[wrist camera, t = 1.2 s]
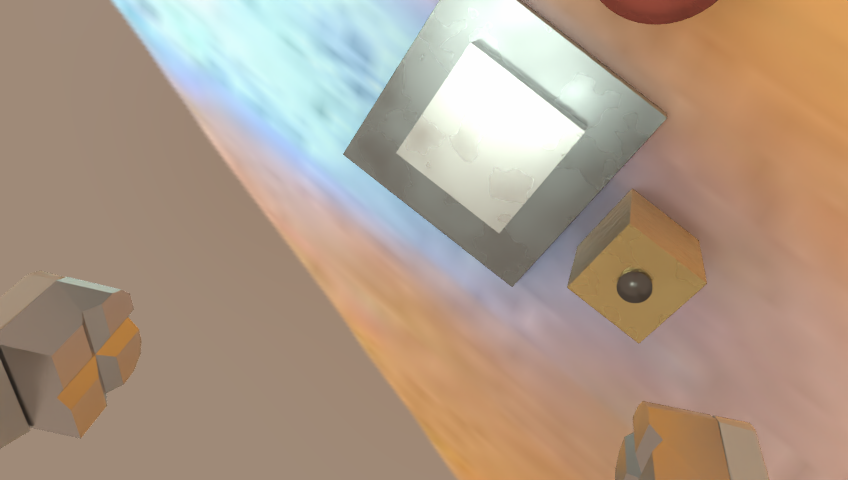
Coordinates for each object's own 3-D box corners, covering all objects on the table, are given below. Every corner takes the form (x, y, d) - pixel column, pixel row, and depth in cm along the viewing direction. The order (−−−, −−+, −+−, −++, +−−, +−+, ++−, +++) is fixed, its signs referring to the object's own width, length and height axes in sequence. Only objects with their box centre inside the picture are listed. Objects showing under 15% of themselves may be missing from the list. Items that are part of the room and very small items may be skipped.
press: (781, -13, 32) (825, -7, 24) (515, 279, 43) (485, 349, 35) (560, -184, 32) (532, -233, 24) (350, 149, 43) (283, 190, 35)
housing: (698, 240, 38) (707, 286, 32) (639, 294, 40) (638, 346, 35) (632, 188, 38) (629, 225, 33) (577, 246, 40) (566, 289, 35)
